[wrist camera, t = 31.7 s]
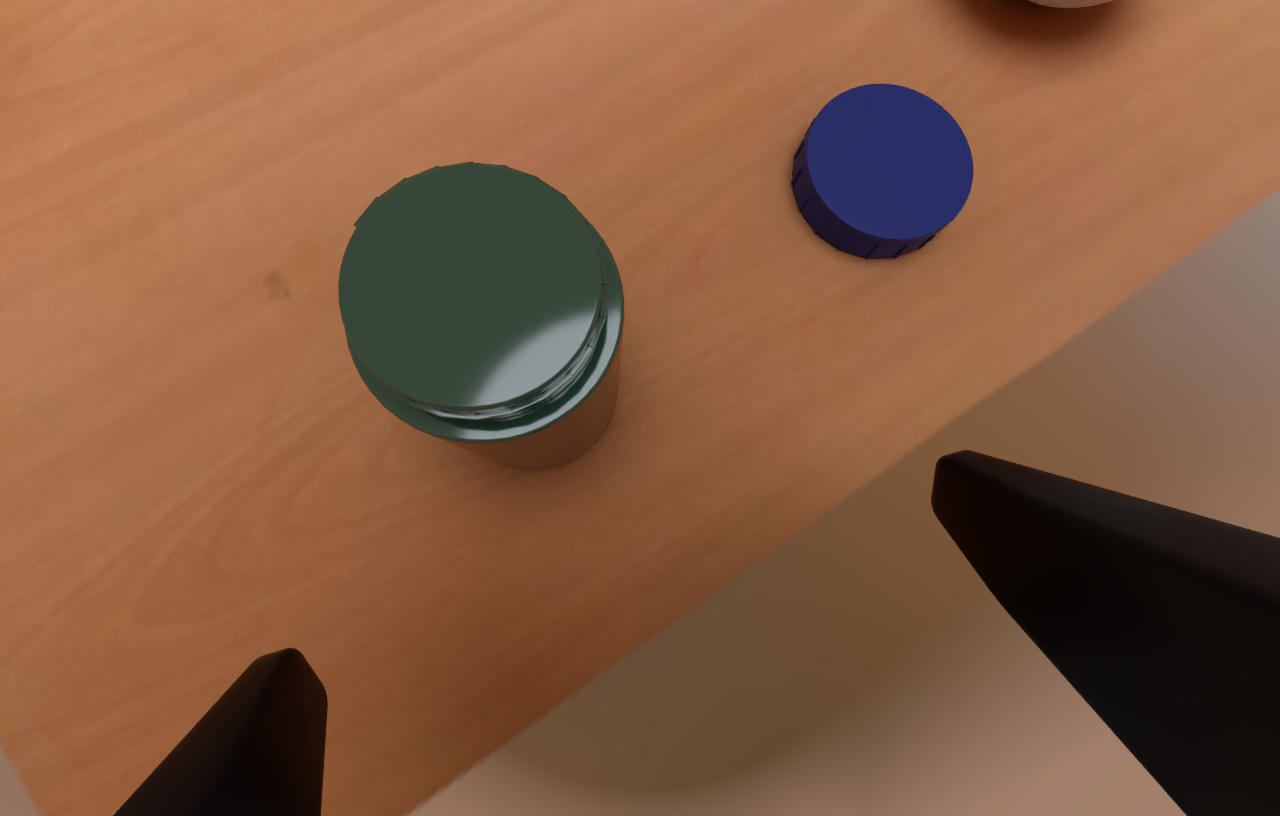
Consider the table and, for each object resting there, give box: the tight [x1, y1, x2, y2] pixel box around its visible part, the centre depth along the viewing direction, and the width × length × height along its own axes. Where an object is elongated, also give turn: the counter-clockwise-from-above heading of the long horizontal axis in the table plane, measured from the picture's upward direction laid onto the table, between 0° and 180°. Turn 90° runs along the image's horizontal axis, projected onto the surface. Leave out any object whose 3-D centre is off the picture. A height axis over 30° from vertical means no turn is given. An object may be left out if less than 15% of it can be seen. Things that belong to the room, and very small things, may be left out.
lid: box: [791, 84, 973, 259], centre depth 24 cm, size 7×7×2 cm
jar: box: [338, 162, 624, 470], centre depth 17 cm, size 6×6×11 cm
